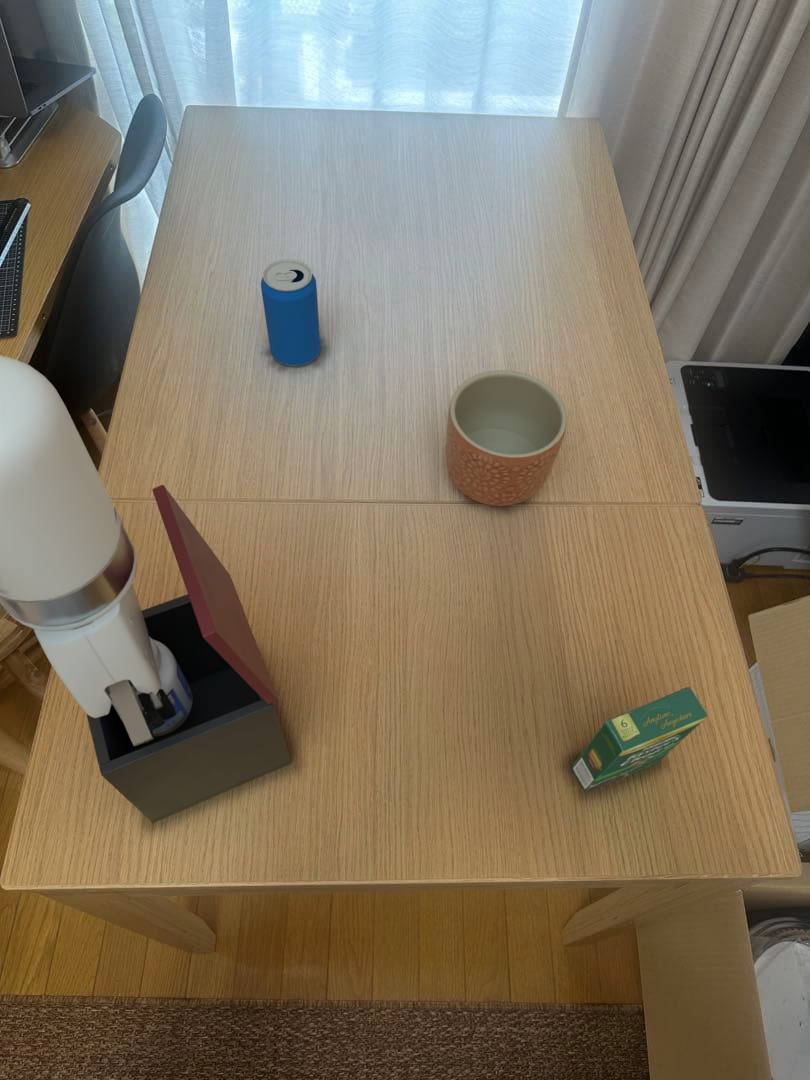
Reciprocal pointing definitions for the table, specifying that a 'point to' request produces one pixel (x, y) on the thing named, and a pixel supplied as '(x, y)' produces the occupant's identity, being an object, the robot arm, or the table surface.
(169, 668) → the pill bottle
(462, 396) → the planter
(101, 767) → the dark gray box
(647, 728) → the coffee box
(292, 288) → the beverage can
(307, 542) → the table surface
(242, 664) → the keepsake box lid
